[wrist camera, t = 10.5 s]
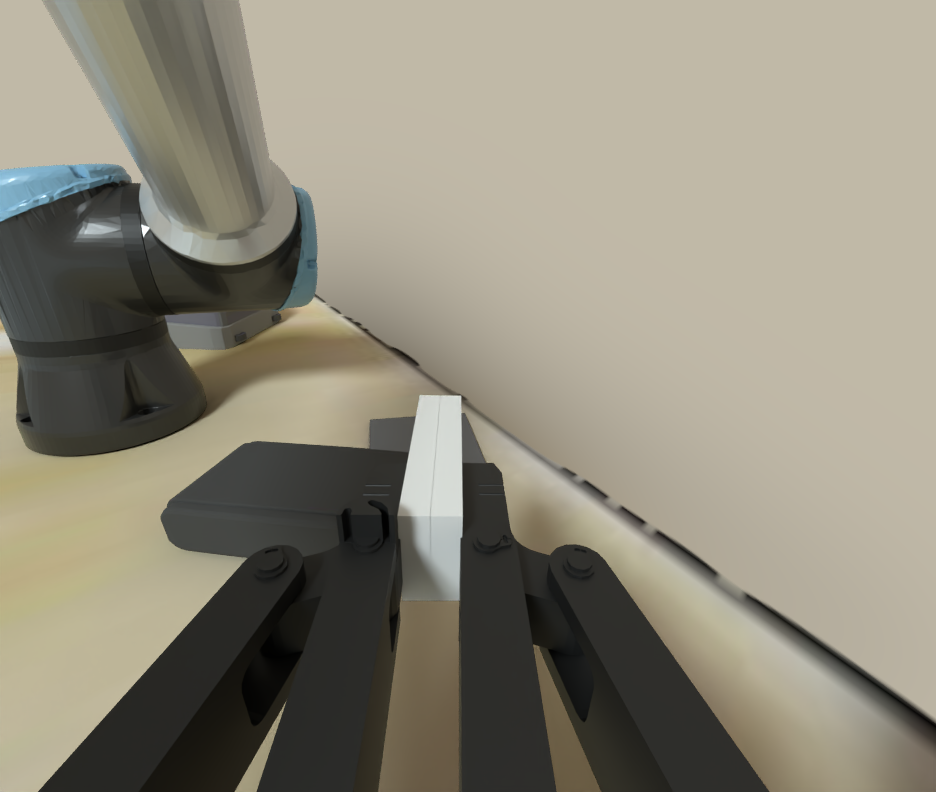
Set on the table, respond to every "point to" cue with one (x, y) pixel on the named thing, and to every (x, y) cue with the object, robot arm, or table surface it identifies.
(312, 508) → the card reader
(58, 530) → the table surface
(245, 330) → the grey tapered box
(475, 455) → the mat
